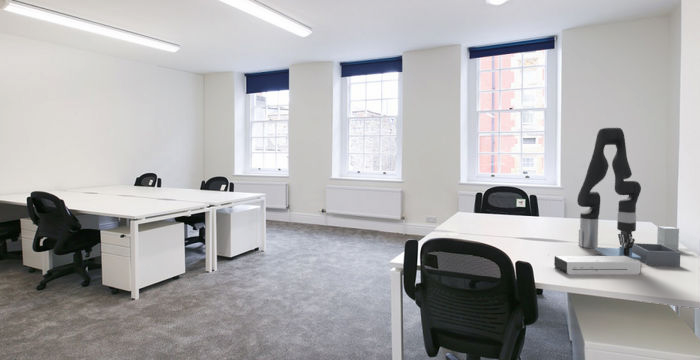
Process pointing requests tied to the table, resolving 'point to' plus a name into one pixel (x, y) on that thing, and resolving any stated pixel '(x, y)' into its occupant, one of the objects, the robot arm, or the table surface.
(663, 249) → the parts tub
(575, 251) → the table surface
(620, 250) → the tub lid
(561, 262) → the laminator
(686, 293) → the table surface
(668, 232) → the supplement box
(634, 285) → the table surface
